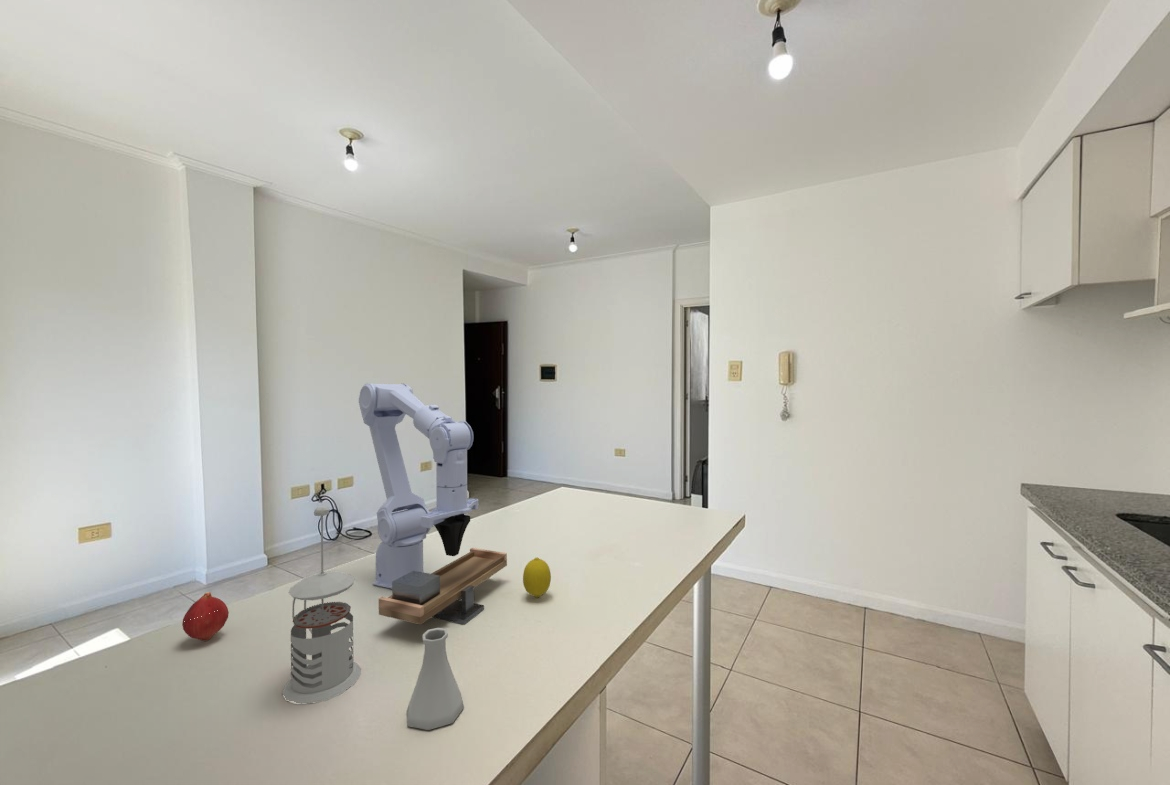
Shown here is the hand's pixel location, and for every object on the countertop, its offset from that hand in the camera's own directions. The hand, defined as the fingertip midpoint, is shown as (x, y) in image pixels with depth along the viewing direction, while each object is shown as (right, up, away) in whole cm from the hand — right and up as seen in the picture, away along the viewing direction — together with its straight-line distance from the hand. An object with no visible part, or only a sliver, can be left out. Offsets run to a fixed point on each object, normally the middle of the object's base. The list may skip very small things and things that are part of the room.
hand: (452, 554), depth 87 cm
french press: (-12, -10, -23) cm, 28 cm away
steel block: (-4, -5, -9) cm, 11 cm away
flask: (+6, -10, -29) cm, 32 cm away
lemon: (+16, -10, +2) cm, 19 cm away
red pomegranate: (-37, -10, -12) cm, 41 cm away
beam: (0, -7, -1) cm, 7 cm away
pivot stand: (-1, -10, -3) cm, 10 cm away
